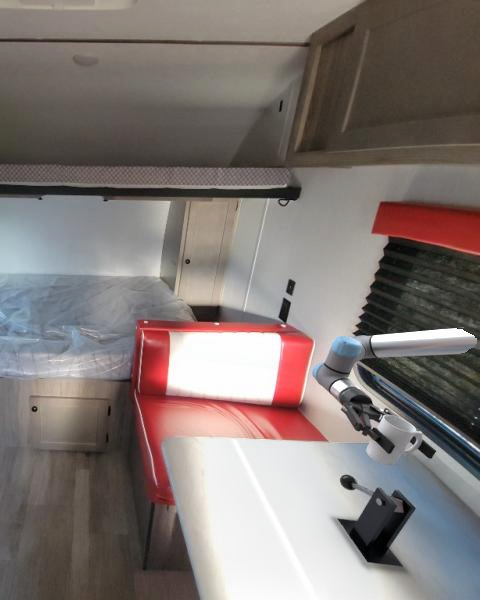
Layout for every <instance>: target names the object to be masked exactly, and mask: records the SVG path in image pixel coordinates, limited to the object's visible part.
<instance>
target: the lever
mask: <svg viewBox="0 0 480 600" xmlns="http://www.w3.org/2000/svg"><path fill="white" fill-rule="evenodd" d="M339 483H340V485H341V487H342V488H344V489H345V490H347V491H356V490H357V491H359V492H362V493H364V494H366V495H368V496H370V497H372V495H373V493H374V492H375V490H371V489H369V488H367V487H365V486H363V485H361V484H358V481H357V479H356V478H355V477H354V476H352V475H351V474H342V475H341V476H340V478H339ZM387 495H388V496H389V497H390V499H391V500H392V501H393V502H394V503H395V504H396V505H397V508H396V509H395V511H394V512H402V513H403V501H402V500H400V499H397V498H395V497H393V496H391V494H387Z"/></svg>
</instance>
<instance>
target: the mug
mask: <svg viewBox="0 0 480 600" xmlns="http://www.w3.org/2000/svg"><path fill="white" fill-rule="evenodd" d="M399 417H400V416H399ZM399 417H396V416H393V415H384V416H383V418H382V417H381V418H382V420H381V421H380V423H378V425H377V427H376V428H377V429H378V430H379V431H380V432H381V433H382V434H383V435H384V436H385V437H386V438H387V439H388V440H390V441H391V442H392V443H393V444H394V445H395V448H394V449H393V451H392V453H391V454H388V453H387V452H386V451H385V450H384V449H383V448H382V447H381V446H380V445H379V444H378V443H377V442H376V441H374V440H373V439H372V438H370V440H369V443H368V445H367V447H366V449H365V452H366V454H367V455H368V456H369V457H370V458H371V459H373V460H374V461H375V462H377V463H379V464H381V465H384V466H388V467H392V466H395V464H396V463H397V462H398V460H399V458H400V457H401V456H405V457H408V456H410V455H412V454H413V453H414V452H415V451H417V450H418V448H419V447H420V445H421V443H422V439H423V431H421V430H420V431H421V432H420V431H416V428H417V427H416V428H415V425H413V424H412V423H410V422H409V421H407V420H406V419H404V418H402V417H400V418H399ZM401 418H402V419H401ZM413 436H415V437H416V443H415V444H414V445H413V444H412V445H411V446H410V447H408V448H407V446H408V445H409V444H410V440H411V439H412V437H413Z"/></svg>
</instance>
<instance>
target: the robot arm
mask: <svg viewBox="0 0 480 600" xmlns="http://www.w3.org/2000/svg"><path fill="white" fill-rule="evenodd" d="M457 328H458V327H457ZM457 328H456V327H454V328H442V329H433V330H421V331H420V330H419V331H410V332H399V333H387V334H376V335H363V334H362V335H356V336H355V335H354V336H353V337H350V336H346V335H339V336H336V337H335V338H334V340H333V342H332V343H331V346H330V349H329V351H328V353H327V356H326V358H325V361H324V362H319V363H316V365H315V366H314V367H313V368H312V371H311V373H312V377H313V378H314V380H315V381H316V382H317V383H318V384H319V385H320V386H321V387H322V388H323V389H325V390H326V392H328V393H329V395H331V396H332V397H333V398H334V399H335V400H336V401H337V402H338V403H339V404H340V405H341V408H340V411H341V412H342V413H344V414H345V416H346V417H347V419H348V421H349V423H350V424H351V426H352V427H353V429H354V430H355V431H357V432H358V433H359V432H361V435H362V436H363V437H370V439H373V440H374V441H376V442H377V443H378V444H379V445H380V446H381V447H382V448H383V449H384V450H385V451H386V452H387V453H388V454H391V453H392V451H393V449H394V448H395V445H394V444H393V443H392V442H391V441H390V440H388V439H387V438H386V437H385V436H384V435H383V434H382V433H381V432H380V431H379V430H378V429H377V427H373V425H372V423H371V421H374V422H376V423H378V424H379V423H380V421H381V420H382V418H383V416H384V415H393V416H396V417H399V418H401V419H403V418H402V417H400V416H399V415H397V414H395V413H394V412H393V411H392V410H391V409H389V408H388V407H384V409H380V408H379V407H378V406H376V405H375V404H374V402H373V399H372V397H371V396H369V394H367V393H366V392H365V391H364V390H362V388H361V387H359V386H358V385H356V384H355V383H354V382H353V381H352V380H350V378H349V376H350V374H351V372H352V370H353V368H354V366H355V365H356V363H357V362H359V361H362V360H364V359H377V358H378V359H379V358H395V357H396V358H397V357H399V358H400V357H419V356H420V357H421V356H443V355H445V356H446V355H462V354H461V353H465V352H467V351H468V350H469V349H471V348H473V347H475V345H476V344H477V338H475V336H474V335H472V334H470V333H468V332H466V331H464V330H463V329H457ZM414 427H415V426H414ZM415 428H416V431H420V432H422V430H420V429H419V428H417V427H415ZM415 443H416V437H415V436H413V437H412V439H411V440H410V442H409V444H411V445H412V446H413V445H414V444H415ZM417 450H418V451H419V452H420V453H422V454H423V455H424V456H425V457H426V458H427V459H429V460H431V459H433V457H434V456H435V454H436V453H437V450H436V449H435V448H434V447H432V445H430V444H429V443H428V442H426V440H424V439H423V438H422V443H421V445H420V447H419V448H418V449H417Z"/></svg>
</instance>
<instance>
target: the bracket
mask: <svg viewBox="0 0 480 600" xmlns="http://www.w3.org/2000/svg"><path fill="white" fill-rule="evenodd" d="M388 495H389V494H387V493H386V491H385V490H384V489H383V488H381V487H376V489H375V490H374V493H373V495H372V496H370V499H368V501H367V503H366V505H365V507H364V508H363V510H362V511H361V514H360V515H359V516H358V518H357V520H353V519H345V518H337V520H338V522H339V523H340V525H341V527H342V528H343V530H344V531H345V532H346V533H347V535H348V537H349V538H350V539H351V541H352V542H353V544H354V545H355V547H356V548H357V550H358V551H359V553H360V554H361V556H362V557H363V558H364V560H365V562H366V563H371V564H378V565H386V566H395V567H401V568H402V567H404V565H403V564H402V563H401V562H400V560H399V559H398V558H397V556H396V555H395V554H394V552H393V551H392V550H391V547H392V545H393V543H394V542H395V541H396V539H397V537H398V536H399V535H400V533H401V531H402V530H403V528H404V527H405V526H406V524H407V522H409V520H410V519H411V517H412V515H413V514H414V512H415V511H416V510H417V508H416V507H415V505H414V504H412V502H410V500H409V499H408V498H407V497H406V496H405V494H403V493H402V492H401V491H400V490H399V489H394V490H393V492H392V493H391V494H390V496H393V497H395V498H397V499H400V500H402V501H403V513H402V512H394V511H395V509H396V508H397V505H396V504H395V503H394V502H393V501H392V500H391V499H390V497H389V496H388Z"/></svg>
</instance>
